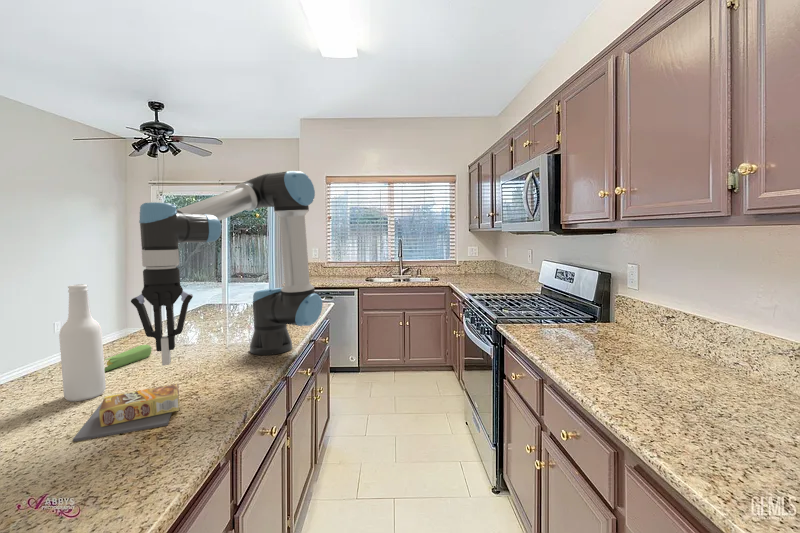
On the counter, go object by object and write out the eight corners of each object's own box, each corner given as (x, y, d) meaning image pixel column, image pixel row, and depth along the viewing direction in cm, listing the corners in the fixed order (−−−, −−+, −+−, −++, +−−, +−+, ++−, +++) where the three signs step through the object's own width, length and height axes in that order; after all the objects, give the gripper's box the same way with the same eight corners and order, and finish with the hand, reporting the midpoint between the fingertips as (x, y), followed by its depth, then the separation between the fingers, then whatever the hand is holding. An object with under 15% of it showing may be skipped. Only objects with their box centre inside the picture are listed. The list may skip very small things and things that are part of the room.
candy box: (179, 394, 92) (98, 409, 85) (179, 411, 93) (99, 428, 85) (178, 382, 100) (104, 395, 92) (178, 398, 100) (105, 412, 92)
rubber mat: (178, 393, 105) (178, 390, 105) (167, 425, 87) (167, 422, 87) (102, 404, 99) (102, 401, 99) (72, 441, 80) (72, 439, 80)
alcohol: (71, 404, 98) (63, 287, 96) (58, 397, 103) (50, 285, 101) (111, 393, 106) (104, 284, 104) (97, 386, 111) (90, 282, 108)
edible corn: (157, 344, 140) (146, 340, 141) (104, 363, 121) (93, 358, 121) (155, 357, 141) (144, 353, 142) (102, 378, 121) (90, 373, 122)
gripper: (193, 265, 99) (197, 355, 101) (132, 267, 94) (138, 362, 96) (190, 267, 92) (195, 364, 94) (125, 269, 87) (131, 372, 89)
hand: (166, 363), depth 95 cm, fingers closed
